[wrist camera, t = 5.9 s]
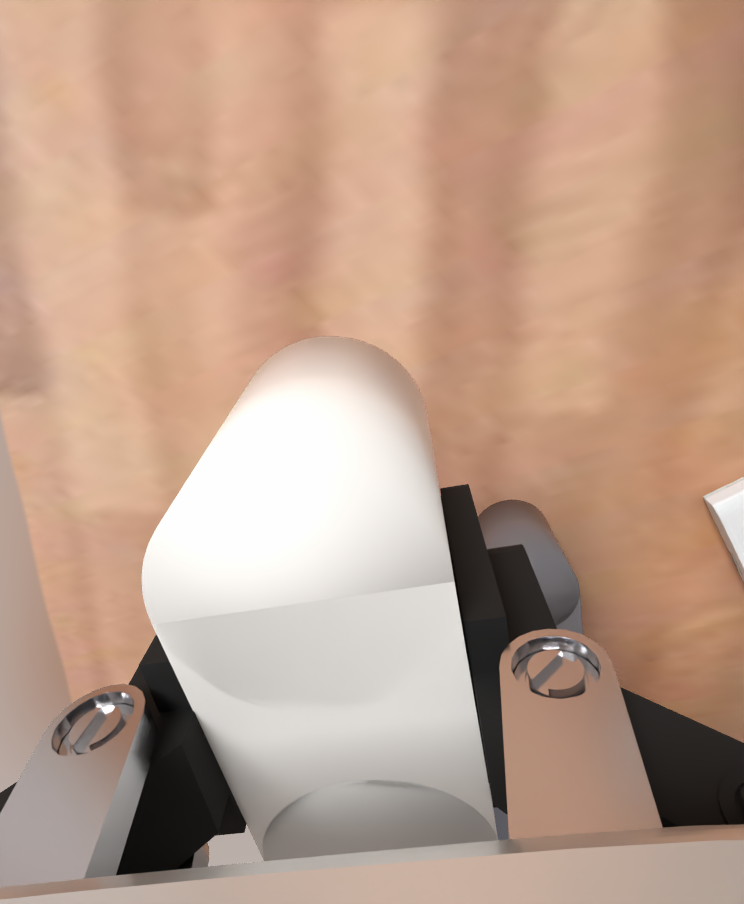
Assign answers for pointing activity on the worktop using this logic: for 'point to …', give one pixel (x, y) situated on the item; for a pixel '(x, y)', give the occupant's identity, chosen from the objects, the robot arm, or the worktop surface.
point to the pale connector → (324, 612)
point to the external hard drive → (730, 518)
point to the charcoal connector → (536, 556)
